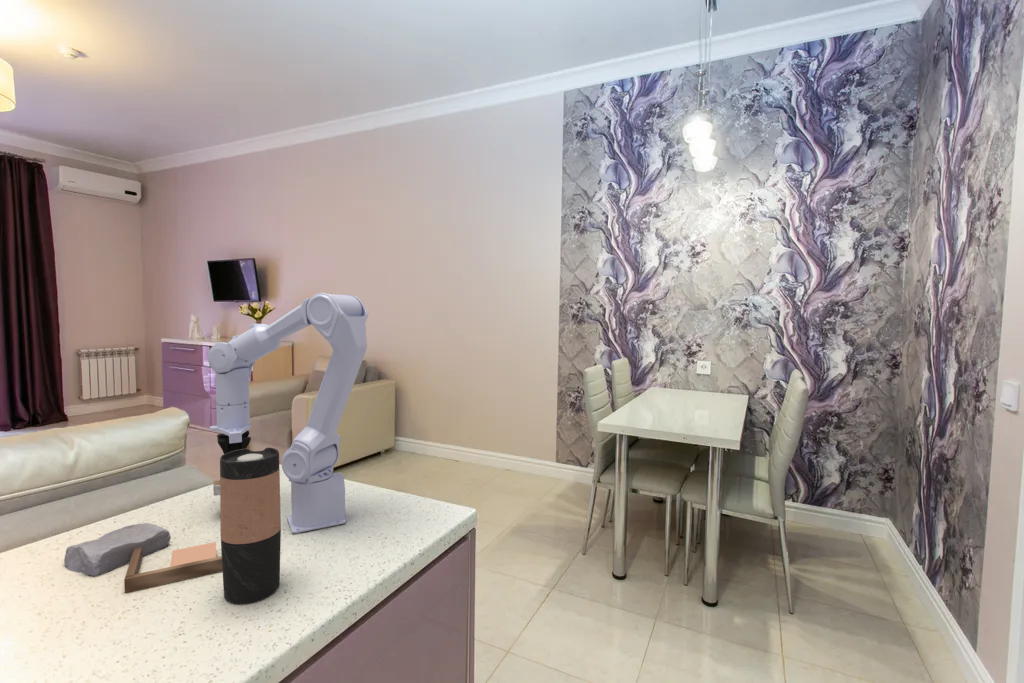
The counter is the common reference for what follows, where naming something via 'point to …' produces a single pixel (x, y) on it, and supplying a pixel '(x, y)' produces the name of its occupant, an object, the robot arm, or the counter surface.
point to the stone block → (115, 548)
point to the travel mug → (250, 524)
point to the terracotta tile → (193, 554)
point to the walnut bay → (166, 572)
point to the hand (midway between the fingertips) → (234, 470)
